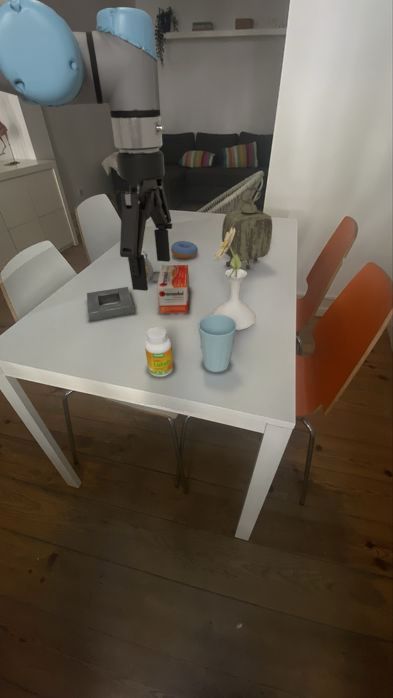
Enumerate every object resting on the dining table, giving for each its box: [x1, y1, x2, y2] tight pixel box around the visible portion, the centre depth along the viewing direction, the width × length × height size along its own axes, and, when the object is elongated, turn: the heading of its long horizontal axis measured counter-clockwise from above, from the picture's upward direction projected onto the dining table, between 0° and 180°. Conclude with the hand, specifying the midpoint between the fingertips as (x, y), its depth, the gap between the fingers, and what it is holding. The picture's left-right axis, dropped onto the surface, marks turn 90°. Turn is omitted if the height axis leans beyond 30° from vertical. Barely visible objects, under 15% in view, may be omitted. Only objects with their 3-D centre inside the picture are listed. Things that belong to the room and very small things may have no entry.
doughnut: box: [170, 240, 199, 260], centre depth 118 cm, size 10×10×5 cm
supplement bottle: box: [144, 326, 174, 378], centre depth 66 cm, size 5×5×10 cm
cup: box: [197, 314, 237, 373], centre depth 67 cm, size 8×8×10 cm
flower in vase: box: [211, 227, 256, 332], centre depth 74 cm, size 13×11×25 cm
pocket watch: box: [142, 250, 160, 283], centre depth 101 cm, size 8×8×10 cm
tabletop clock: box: [221, 186, 273, 270], centre depth 103 cm, size 14×9×25 cm, turn 111°
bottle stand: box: [86, 286, 135, 322], centre depth 89 cm, size 12×12×2 cm
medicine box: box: [156, 264, 190, 314], centre depth 90 cm, size 15×8×8 cm, turn 1°
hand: (153, 274), depth 64 cm, fingers open, 13 cm apart
